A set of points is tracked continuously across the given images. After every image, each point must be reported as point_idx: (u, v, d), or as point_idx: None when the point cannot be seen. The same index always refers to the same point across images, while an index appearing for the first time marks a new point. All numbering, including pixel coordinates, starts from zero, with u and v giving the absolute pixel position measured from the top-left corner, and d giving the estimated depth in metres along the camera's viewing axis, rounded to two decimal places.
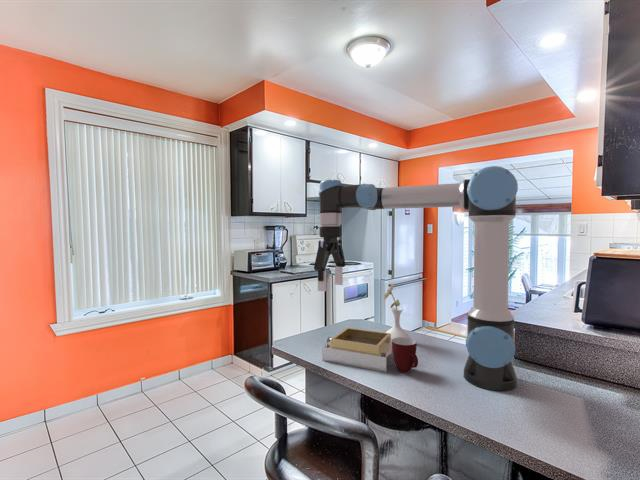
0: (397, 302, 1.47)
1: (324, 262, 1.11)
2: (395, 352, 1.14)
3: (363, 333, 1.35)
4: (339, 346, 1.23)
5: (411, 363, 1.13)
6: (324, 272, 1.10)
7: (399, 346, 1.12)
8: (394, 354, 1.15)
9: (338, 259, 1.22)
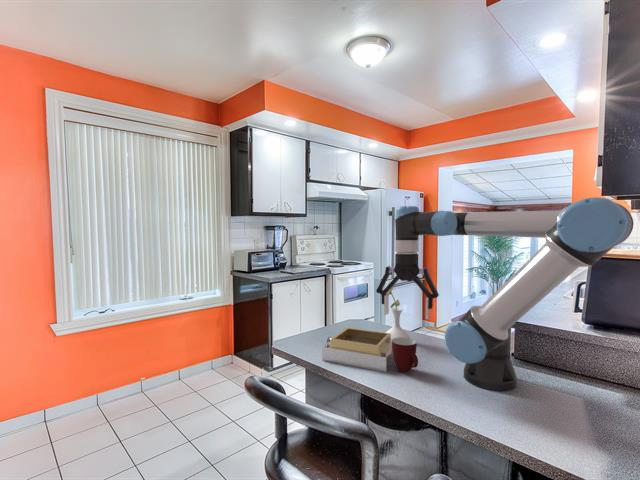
0: (397, 302, 1.47)
1: (386, 287, 1.16)
2: (395, 352, 1.14)
3: (363, 333, 1.35)
4: (339, 346, 1.23)
5: (411, 363, 1.13)
6: None
7: (399, 346, 1.12)
8: (394, 354, 1.15)
9: None
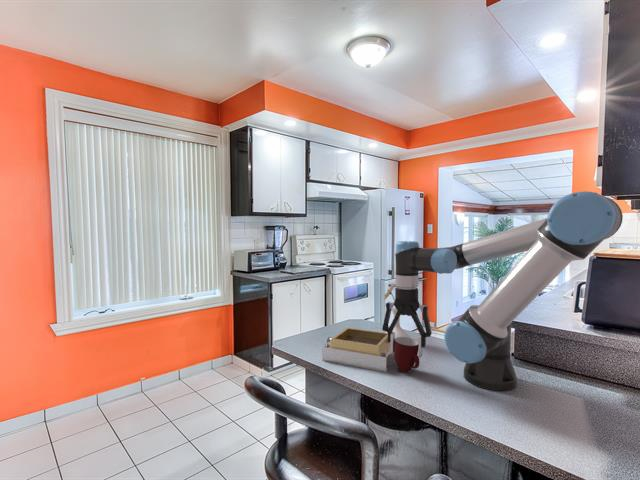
0: None
1: None
2: (397, 351, 1.13)
3: (363, 333, 1.35)
4: (339, 346, 1.23)
5: (412, 363, 1.13)
6: (391, 335, 1.16)
7: (401, 346, 1.12)
8: (396, 353, 1.14)
9: None
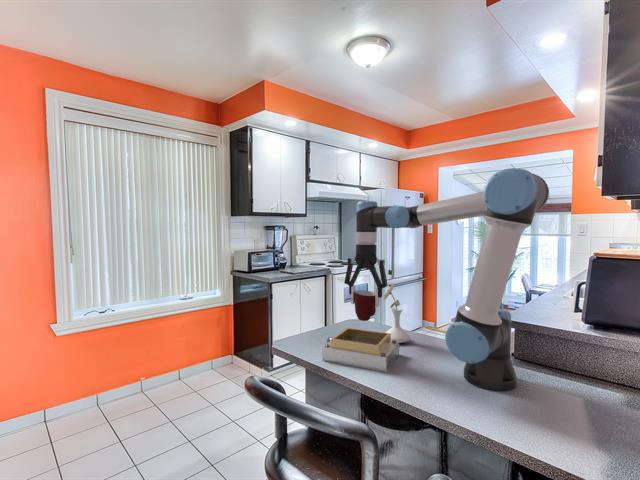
0: (397, 302, 1.47)
1: (351, 278, 1.27)
2: (356, 301, 1.25)
3: (363, 333, 1.35)
4: (339, 346, 1.23)
5: (370, 312, 1.24)
6: None
7: (360, 296, 1.23)
8: (355, 303, 1.26)
9: None
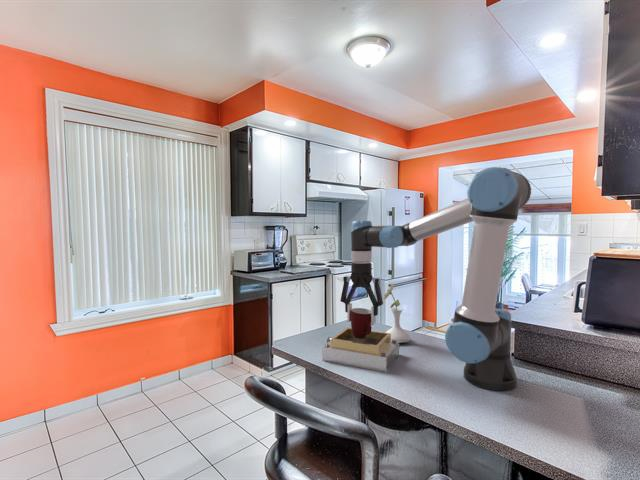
0: (397, 302, 1.47)
1: None
2: (352, 320, 1.26)
3: None
4: (339, 346, 1.23)
5: (366, 330, 1.26)
6: (348, 305, 1.29)
7: (356, 314, 1.25)
8: (351, 321, 1.27)
9: None
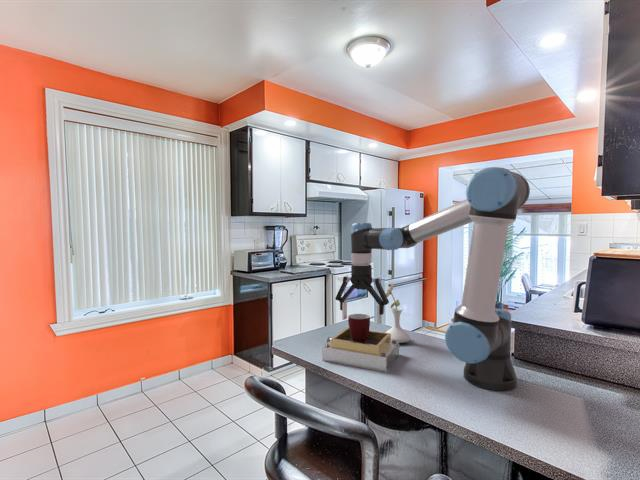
0: (397, 302, 1.47)
1: (343, 295, 1.29)
2: (350, 326, 1.27)
3: None
4: (339, 346, 1.23)
5: (364, 335, 1.26)
6: None
7: (353, 320, 1.25)
8: (350, 328, 1.27)
9: None
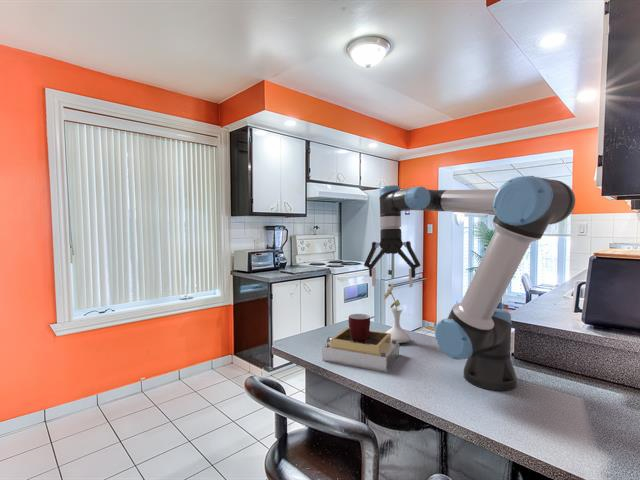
0: (397, 302, 1.47)
1: (373, 260, 1.27)
2: (350, 326, 1.27)
3: None
4: (339, 346, 1.23)
5: (365, 335, 1.26)
6: (372, 269, 1.27)
7: (354, 320, 1.25)
8: (350, 328, 1.27)
9: (405, 261, 1.23)
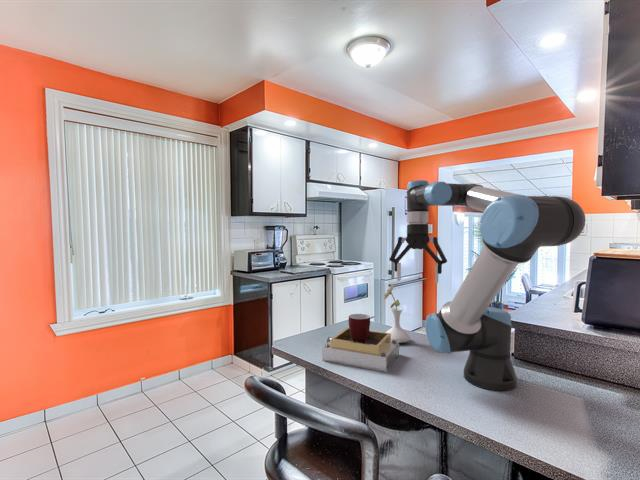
0: (397, 302, 1.47)
1: None
2: (350, 326, 1.26)
3: None
4: (339, 346, 1.23)
5: (365, 335, 1.26)
6: None
7: (354, 320, 1.25)
8: (350, 328, 1.27)
9: (431, 256, 1.22)
